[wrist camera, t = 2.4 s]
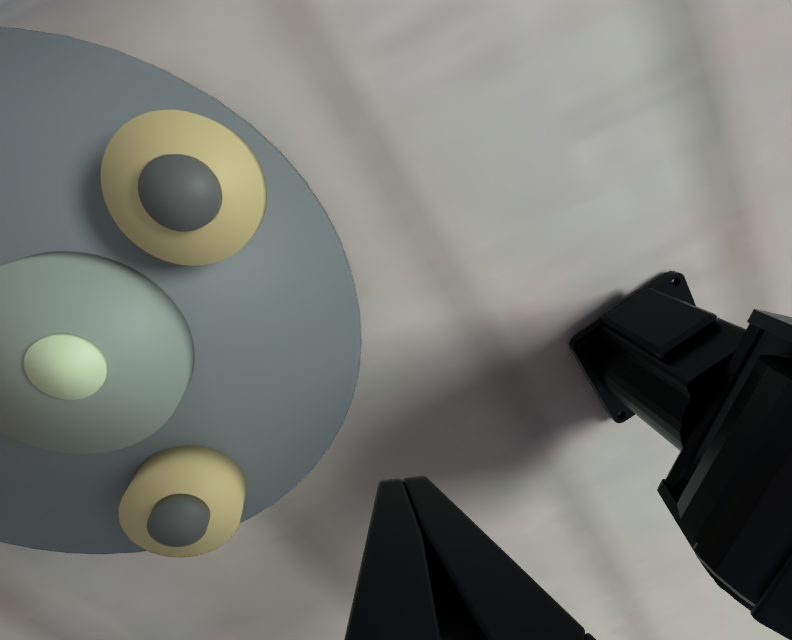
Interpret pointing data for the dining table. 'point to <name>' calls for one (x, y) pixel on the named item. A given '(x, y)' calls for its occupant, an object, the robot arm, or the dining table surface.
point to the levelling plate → (155, 309)
